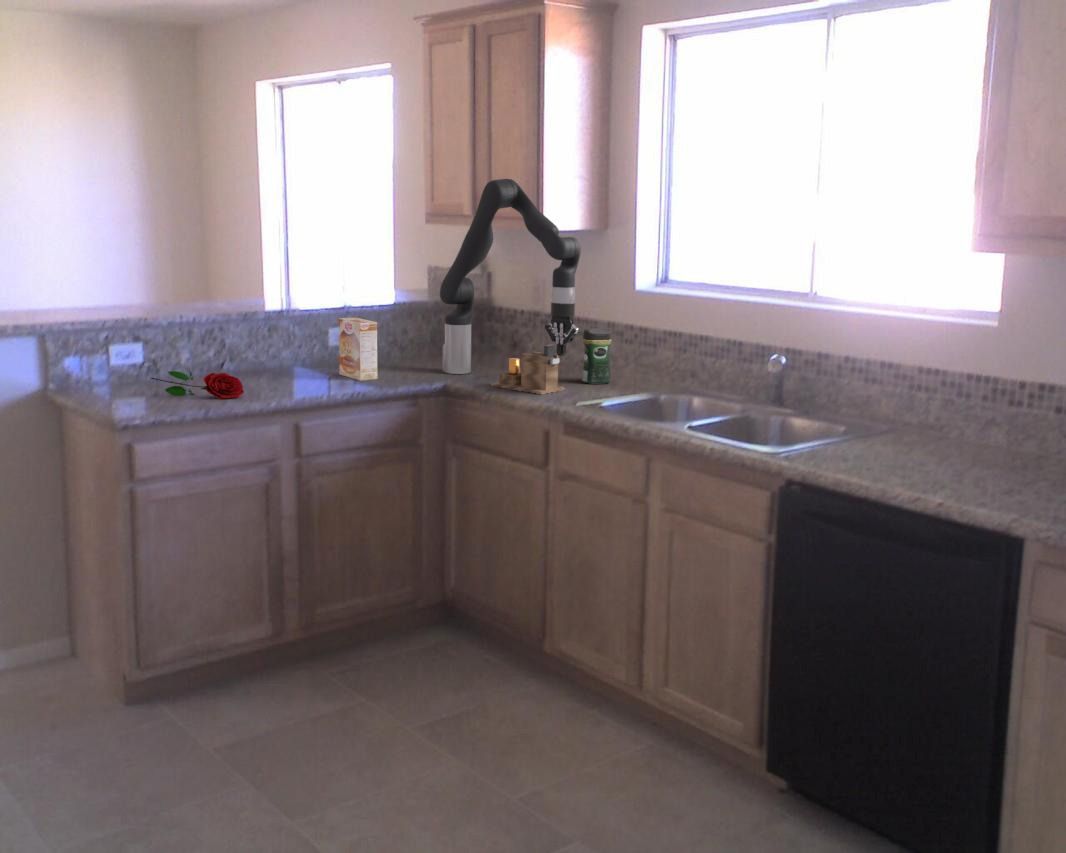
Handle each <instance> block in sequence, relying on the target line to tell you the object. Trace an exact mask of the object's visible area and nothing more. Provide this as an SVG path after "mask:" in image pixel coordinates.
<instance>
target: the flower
mask: <svg viewBox="0 0 1066 853" xmlns="http://www.w3.org/2000/svg"><path fill="white" fill-rule="evenodd" d="M188 370H189V376H188V375H187V374H185V373H183V372H180V371H178V370H177V371H175V370H173V371H172V370H171V371H170V370H169V371H167V373H168V374H169V375H170V376H172V377H174V378H175V379H179V380H183V381H182V382H174V381H173V380H172V381H169V380H165V379H164V380H163V379H160V378H156V377H151V378H150V379H151V380H156V381H160V382H165V383H171V384H177V385H173V386H168V387H167V388H165V389H164V391H165V392H166V393H167V394H169V395H171V396H175V397H177V396H178V397H180V396H181V397H182V396H184V395H186V393H187V392H188V393H189V394H192V395H195V393H194V392H193V391H192V390H191V388H189V389H187V388H185V386H186V387H195V388H200V390H204V391H206V392H207V393H208V394H210V395H212V396H214V397H215V398H218V399H219V400H226V399H232V400H233V399H239V397H240V396H242V395H243V394H244V393H245V392H244V386H243V384H242V382H241V380H240V379H239V378H238V377H235V376H234V375H231V374H228V373H225V372H220V373H215V372H210V373H209V374H206V376H205V377H203V382H204V383H205V385H204V386H202V385H192V384H187V383H185V382H186V381H189V380H191V381H194V376H193V373H192V372H191V370H190V369H188Z"/></svg>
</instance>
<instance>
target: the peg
mask: <svg viewBox="0 0 1066 853" xmlns="http://www.w3.org/2000/svg"><path fill="white" fill-rule="evenodd" d="M520 363H521V359H520V358H518V357H511V358H508V372H509V375H514V376H517V375H520V373H521V364H520Z"/></svg>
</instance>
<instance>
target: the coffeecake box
mask: <svg viewBox="0 0 1066 853" xmlns="http://www.w3.org/2000/svg"><path fill="white" fill-rule="evenodd" d="M338 344H339V345H338V347H339V348H338V350H339V352H338V353H339V354H338V356H339V357H338V358H339V362H338V363H339V375H341V376H343V377H344V376H345V377H347V378H351V379H354V380H357V381H371V380H378V322H377V321H373V320H369V319H363V318H359V317H339V318H338Z"/></svg>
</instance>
